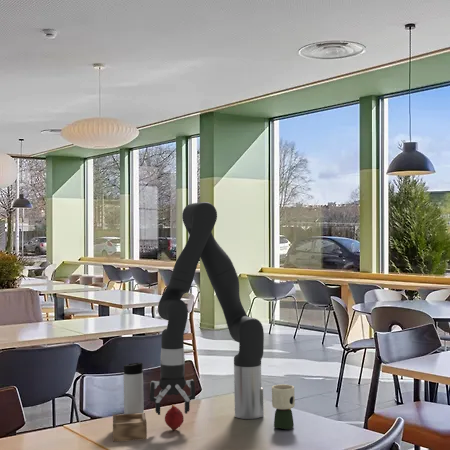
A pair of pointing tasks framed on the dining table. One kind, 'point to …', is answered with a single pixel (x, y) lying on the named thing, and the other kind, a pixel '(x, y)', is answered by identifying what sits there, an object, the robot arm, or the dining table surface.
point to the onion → (174, 418)
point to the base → (129, 427)
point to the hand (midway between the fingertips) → (172, 413)
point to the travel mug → (133, 388)
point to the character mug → (283, 405)
